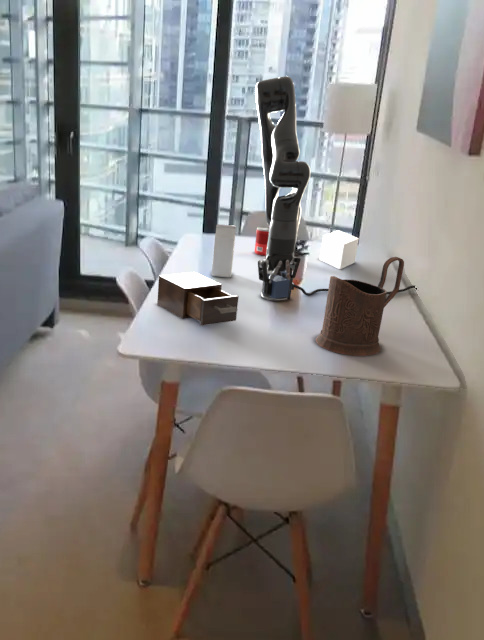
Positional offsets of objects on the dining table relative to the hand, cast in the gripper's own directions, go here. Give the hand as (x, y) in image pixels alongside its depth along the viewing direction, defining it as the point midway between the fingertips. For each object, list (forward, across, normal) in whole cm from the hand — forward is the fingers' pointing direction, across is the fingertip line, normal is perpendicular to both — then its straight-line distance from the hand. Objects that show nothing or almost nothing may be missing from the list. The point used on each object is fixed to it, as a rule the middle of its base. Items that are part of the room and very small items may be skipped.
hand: (275, 293), depth 206 cm
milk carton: (+14, -28, -63) cm, 71 cm away
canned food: (+15, -66, -85) cm, 109 cm away
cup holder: (+14, -21, +14) cm, 29 cm away
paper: (+15, -88, -64) cm, 110 cm away
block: (0, 0, 0) cm, 0 cm away
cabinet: (+14, +8, -32) cm, 36 cm away
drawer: (+13, +8, -19) cm, 24 cm away
